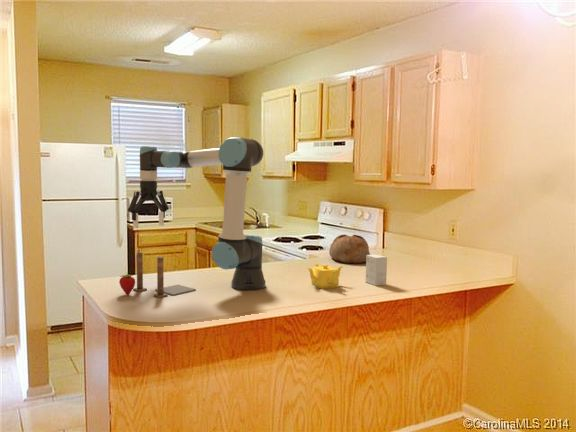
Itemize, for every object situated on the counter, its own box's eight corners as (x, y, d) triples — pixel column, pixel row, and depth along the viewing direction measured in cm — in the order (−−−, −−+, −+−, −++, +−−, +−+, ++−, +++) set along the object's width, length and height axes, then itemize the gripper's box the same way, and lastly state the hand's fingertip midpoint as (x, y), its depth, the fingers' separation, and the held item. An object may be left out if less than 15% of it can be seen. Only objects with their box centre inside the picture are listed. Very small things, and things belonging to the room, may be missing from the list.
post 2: (167, 296, 203) (167, 257, 201) (159, 298, 200) (159, 258, 198) (161, 294, 205) (161, 256, 204) (153, 296, 202) (153, 257, 201)
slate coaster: (195, 290, 213) (195, 289, 213) (173, 295, 204) (173, 294, 204) (177, 285, 220) (177, 284, 220) (155, 290, 211) (155, 289, 211)
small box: (386, 284, 231) (387, 257, 230) (375, 286, 228) (376, 257, 227) (376, 281, 238) (377, 254, 237) (365, 282, 235) (366, 254, 234)
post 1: (146, 290, 211) (146, 253, 210) (138, 292, 208) (138, 254, 207) (141, 288, 214) (140, 251, 212) (133, 290, 211) (132, 253, 209)
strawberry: (124, 297, 199) (123, 273, 198) (116, 294, 204) (116, 270, 203) (138, 295, 203) (138, 271, 202) (130, 292, 208) (130, 268, 207)
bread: (372, 265, 279) (373, 238, 277) (331, 264, 279) (331, 237, 278) (366, 256, 305) (367, 232, 304) (328, 255, 305) (328, 231, 304)
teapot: (314, 280, 236) (315, 260, 235) (343, 283, 231) (344, 263, 230) (304, 287, 223) (305, 266, 222) (335, 291, 218) (336, 269, 217)
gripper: (166, 179, 240) (166, 223, 242) (119, 180, 221) (119, 227, 223) (176, 180, 235) (176, 225, 237) (128, 180, 216) (129, 229, 218)
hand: (148, 226), depth 230 cm, fingers open, 13 cm apart
